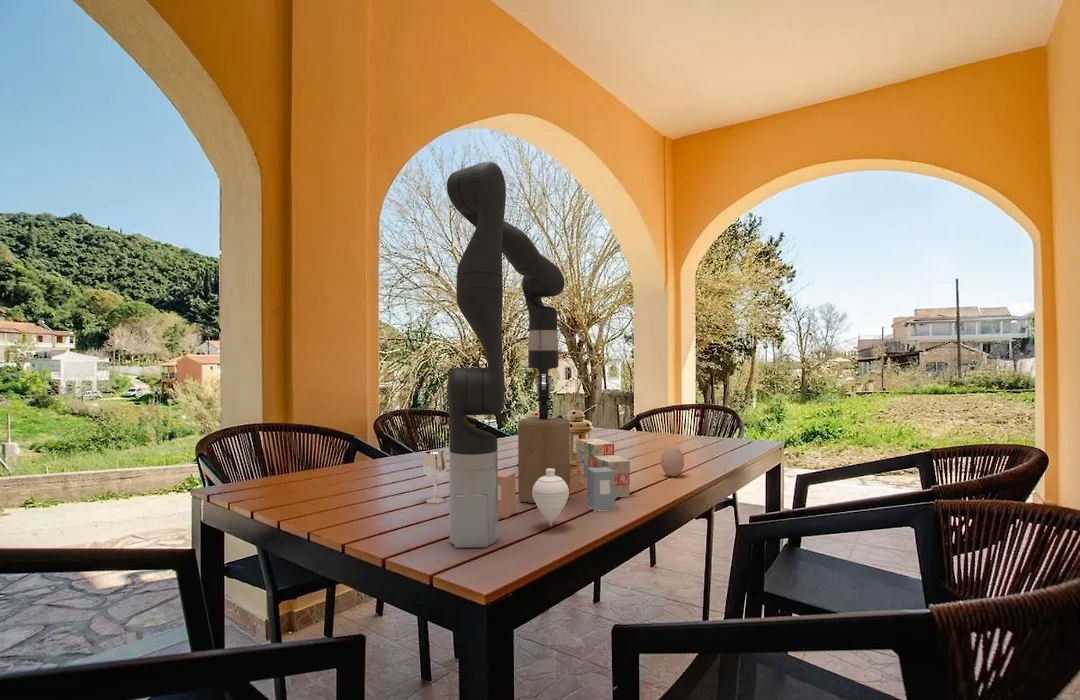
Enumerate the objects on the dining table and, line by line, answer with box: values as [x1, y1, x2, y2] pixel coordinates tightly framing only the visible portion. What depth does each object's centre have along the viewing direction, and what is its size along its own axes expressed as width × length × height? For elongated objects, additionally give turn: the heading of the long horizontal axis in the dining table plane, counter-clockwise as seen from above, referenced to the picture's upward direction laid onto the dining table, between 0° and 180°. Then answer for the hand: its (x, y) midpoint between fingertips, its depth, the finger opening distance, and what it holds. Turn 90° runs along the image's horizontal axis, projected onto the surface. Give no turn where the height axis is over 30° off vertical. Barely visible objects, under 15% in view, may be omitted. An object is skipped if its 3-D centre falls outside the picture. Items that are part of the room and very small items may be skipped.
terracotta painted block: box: [497, 470, 516, 519], centre depth 125 cm, size 5×5×9 cm
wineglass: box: [422, 450, 448, 504], centre depth 137 cm, size 6×6×12 cm
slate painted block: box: [586, 467, 616, 511], centre depth 129 cm, size 5×5×9 cm
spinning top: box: [532, 468, 570, 527], centre depth 115 cm, size 8×8×12 cm
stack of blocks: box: [575, 437, 631, 499], centre depth 149 cm, size 21×6×12 cm, turn 18°
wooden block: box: [517, 416, 571, 504], centre depth 137 cm, size 10×10×20 cm
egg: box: [660, 444, 685, 477], centre depth 163 cm, size 7×7×9 cm
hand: (543, 418), depth 137 cm, fingers closed
